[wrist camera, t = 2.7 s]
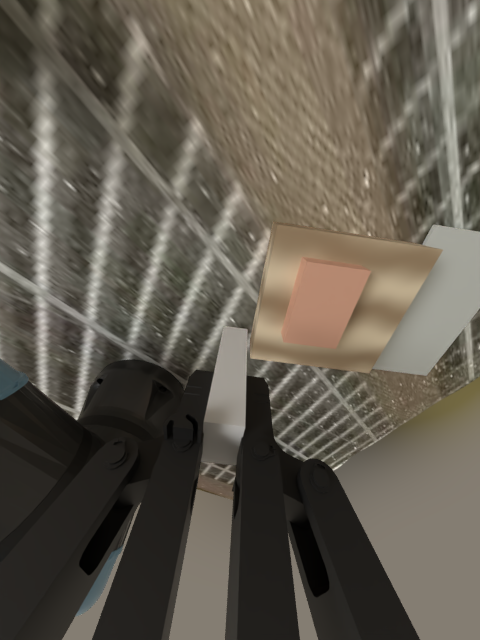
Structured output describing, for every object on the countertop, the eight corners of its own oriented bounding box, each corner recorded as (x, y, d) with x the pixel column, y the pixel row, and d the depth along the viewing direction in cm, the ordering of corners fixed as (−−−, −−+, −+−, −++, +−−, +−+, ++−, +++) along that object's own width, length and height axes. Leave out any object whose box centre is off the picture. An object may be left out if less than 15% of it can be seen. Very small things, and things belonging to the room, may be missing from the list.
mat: (424, 373, 32) (426, 375, 32) (356, 365, 32) (357, 366, 32) (529, 239, 23) (533, 240, 22) (433, 224, 22) (436, 224, 22)
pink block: (329, 338, 25) (335, 349, 23) (280, 332, 25) (283, 342, 23) (361, 265, 21) (371, 271, 19) (302, 256, 20) (307, 261, 19)
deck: (355, 354, 31) (369, 373, 27) (250, 340, 30) (250, 358, 27) (413, 242, 23) (443, 249, 20) (273, 221, 23) (277, 224, 19)
